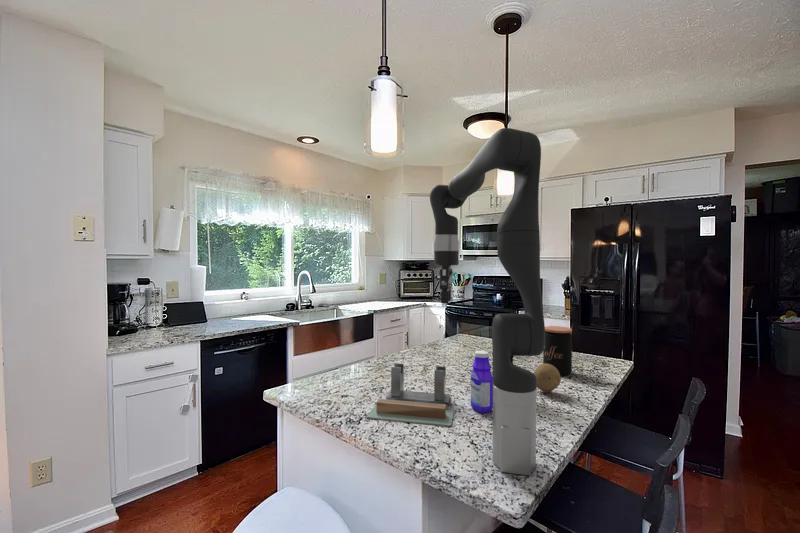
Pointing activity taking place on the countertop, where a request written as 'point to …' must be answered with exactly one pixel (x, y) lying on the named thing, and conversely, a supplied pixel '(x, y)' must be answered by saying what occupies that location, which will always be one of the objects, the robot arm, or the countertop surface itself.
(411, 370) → the countertop surface
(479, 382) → the bottle
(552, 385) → the tan round lump
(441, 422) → the mat
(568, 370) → the coffee jar
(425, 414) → the rail
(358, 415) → the countertop surface
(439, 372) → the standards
